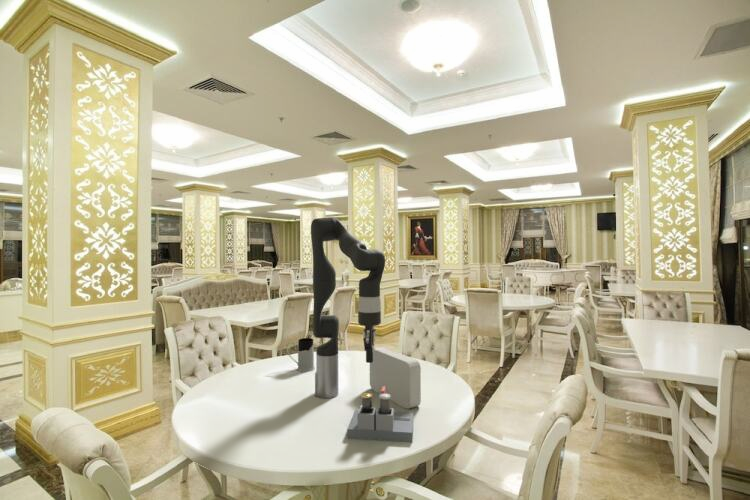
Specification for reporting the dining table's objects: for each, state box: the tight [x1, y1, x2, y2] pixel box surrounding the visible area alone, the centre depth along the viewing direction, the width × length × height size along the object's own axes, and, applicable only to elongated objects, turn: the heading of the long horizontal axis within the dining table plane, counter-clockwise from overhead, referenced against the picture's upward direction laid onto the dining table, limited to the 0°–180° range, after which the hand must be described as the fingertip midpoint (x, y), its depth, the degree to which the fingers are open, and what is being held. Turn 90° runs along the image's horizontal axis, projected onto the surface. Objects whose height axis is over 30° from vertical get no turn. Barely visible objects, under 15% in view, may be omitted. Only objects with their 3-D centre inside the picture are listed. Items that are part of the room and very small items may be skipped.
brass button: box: [361, 392, 373, 413], centre depth 125 cm, size 4×4×5 cm
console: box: [346, 406, 414, 443], centre depth 129 cm, size 21×15×8 cm
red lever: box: [380, 386, 386, 395], centre depth 130 cm, size 3×4×10 cm
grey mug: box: [286, 337, 315, 373], centre depth 195 cm, size 9×14×15 cm, turn 89°
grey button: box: [379, 394, 391, 413], centre depth 124 cm, size 4×4×5 cm
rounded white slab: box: [369, 346, 422, 410], centre depth 158 cm, size 29×8×18 cm, turn 33°
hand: (369, 361), depth 125 cm, fingers closed
